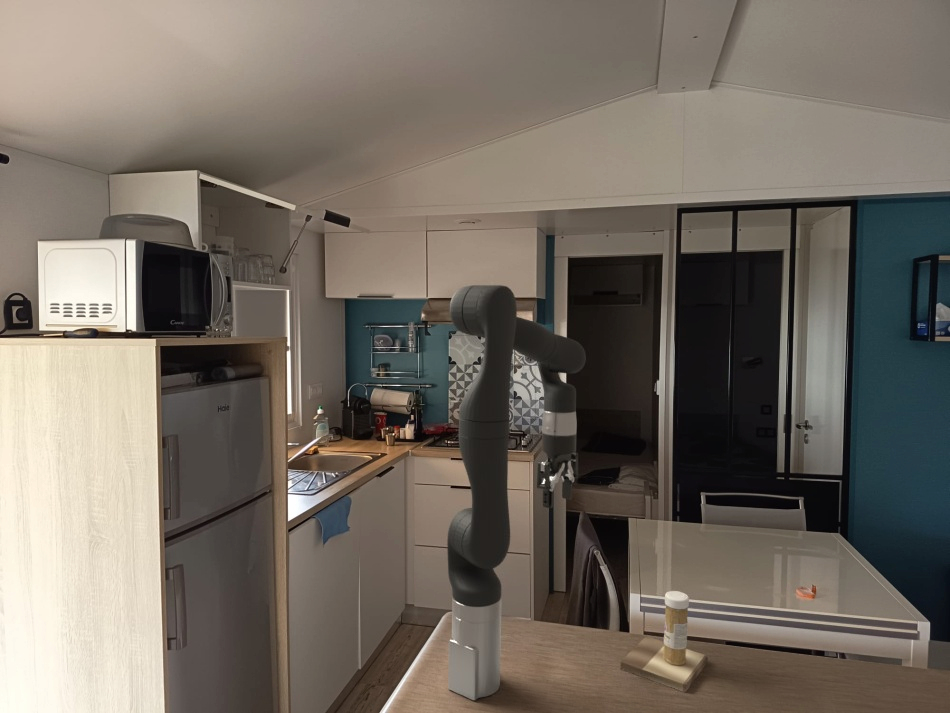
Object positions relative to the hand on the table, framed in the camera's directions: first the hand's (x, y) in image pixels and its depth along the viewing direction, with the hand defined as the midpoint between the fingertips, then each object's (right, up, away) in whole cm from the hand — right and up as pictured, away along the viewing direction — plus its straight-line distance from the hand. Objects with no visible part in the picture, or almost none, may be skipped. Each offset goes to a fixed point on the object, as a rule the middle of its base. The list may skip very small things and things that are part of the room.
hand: (557, 502), depth 147 cm
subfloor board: (+20, -30, -15) cm, 38 cm away
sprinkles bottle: (+21, -28, -15) cm, 39 cm away
